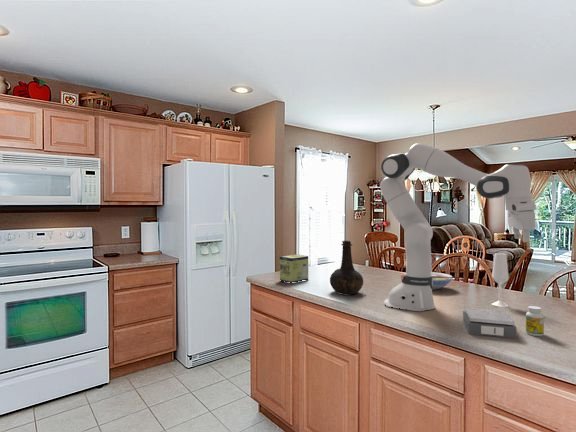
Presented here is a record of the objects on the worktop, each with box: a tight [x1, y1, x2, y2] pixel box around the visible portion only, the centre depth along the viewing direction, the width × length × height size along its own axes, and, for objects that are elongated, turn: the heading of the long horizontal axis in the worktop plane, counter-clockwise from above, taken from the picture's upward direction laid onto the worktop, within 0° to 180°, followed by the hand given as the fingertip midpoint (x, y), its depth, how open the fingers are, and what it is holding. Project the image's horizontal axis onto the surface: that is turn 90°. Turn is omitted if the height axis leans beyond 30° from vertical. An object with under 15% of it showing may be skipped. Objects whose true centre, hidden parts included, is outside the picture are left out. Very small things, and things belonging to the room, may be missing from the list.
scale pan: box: [464, 307, 515, 325], centre depth 134 cm, size 14×14×1 cm
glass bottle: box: [329, 240, 364, 295], centre depth 191 cm, size 18×18×28 cm
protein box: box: [279, 254, 309, 283], centre depth 222 cm, size 10×16×16 cm
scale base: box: [462, 310, 517, 339], centre depth 134 cm, size 15×16×4 cm
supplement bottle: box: [525, 305, 545, 337], centre depth 129 cm, size 5×5×10 cm
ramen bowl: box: [432, 271, 458, 291], centre depth 201 cm, size 25×23×8 cm
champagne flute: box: [491, 252, 510, 308], centre depth 167 cm, size 7×7×24 cm
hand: (521, 240), depth 139 cm, fingers open, 8 cm apart
